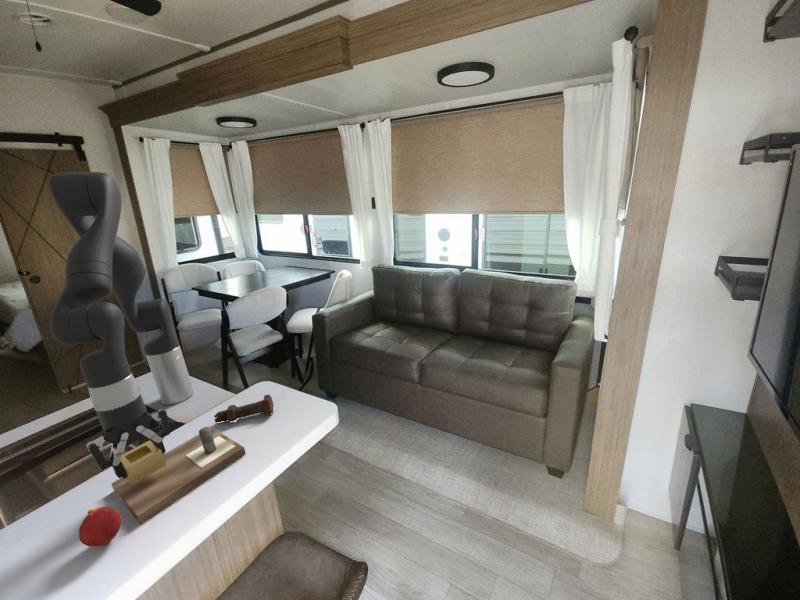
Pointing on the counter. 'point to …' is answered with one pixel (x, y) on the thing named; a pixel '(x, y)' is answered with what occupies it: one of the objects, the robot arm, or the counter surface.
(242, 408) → the bolt
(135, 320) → the robot arm
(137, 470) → the collar
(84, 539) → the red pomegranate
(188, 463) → the post board
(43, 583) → the counter surface
